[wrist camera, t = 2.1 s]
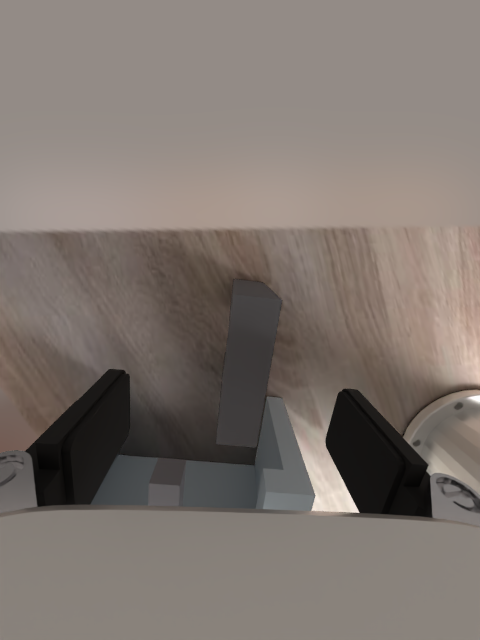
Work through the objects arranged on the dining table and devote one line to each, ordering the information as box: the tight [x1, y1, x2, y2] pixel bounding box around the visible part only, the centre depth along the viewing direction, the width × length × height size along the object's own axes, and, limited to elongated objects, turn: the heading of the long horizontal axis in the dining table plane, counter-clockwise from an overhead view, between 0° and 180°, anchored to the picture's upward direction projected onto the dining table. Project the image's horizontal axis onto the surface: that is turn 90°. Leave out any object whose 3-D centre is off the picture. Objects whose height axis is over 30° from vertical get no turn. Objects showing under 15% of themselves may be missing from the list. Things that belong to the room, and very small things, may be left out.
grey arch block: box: [216, 279, 282, 448], centre depth 18 cm, size 10×3×8 cm, turn 173°
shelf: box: [90, 397, 315, 511], centre depth 20 cm, size 18×10×10 cm, turn 83°
